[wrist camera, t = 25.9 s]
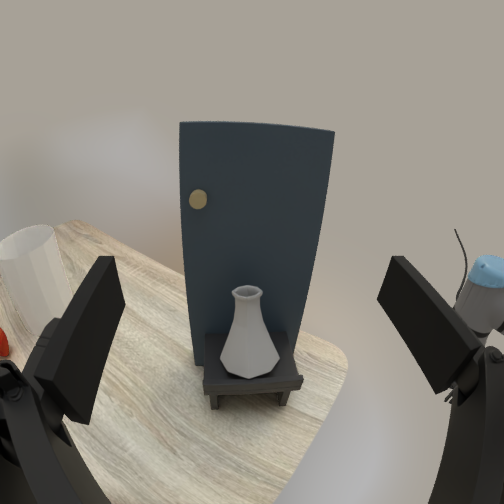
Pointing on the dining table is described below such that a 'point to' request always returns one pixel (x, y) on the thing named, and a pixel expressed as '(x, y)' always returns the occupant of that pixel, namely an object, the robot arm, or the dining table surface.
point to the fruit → (3, 344)
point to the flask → (248, 337)
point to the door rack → (250, 237)
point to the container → (35, 276)
